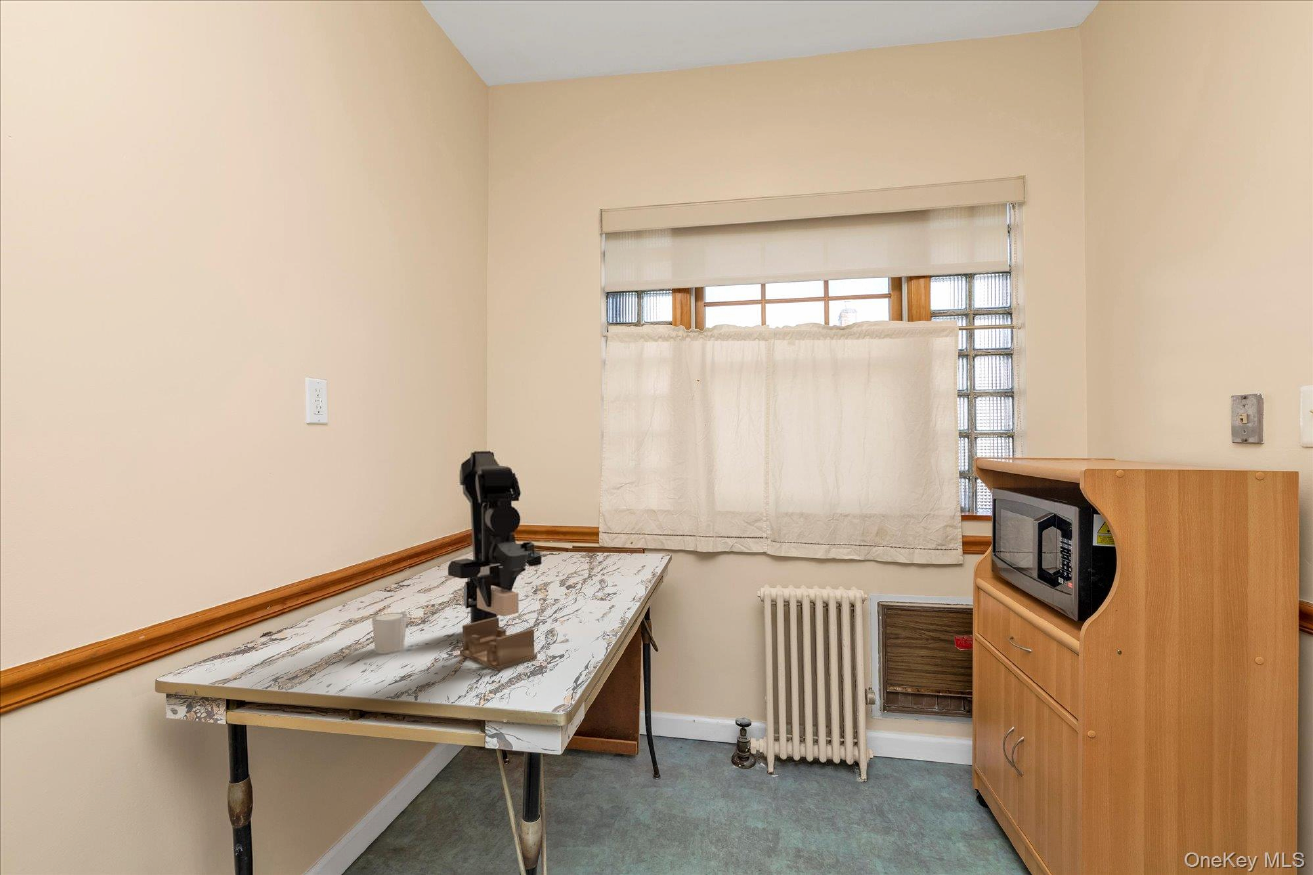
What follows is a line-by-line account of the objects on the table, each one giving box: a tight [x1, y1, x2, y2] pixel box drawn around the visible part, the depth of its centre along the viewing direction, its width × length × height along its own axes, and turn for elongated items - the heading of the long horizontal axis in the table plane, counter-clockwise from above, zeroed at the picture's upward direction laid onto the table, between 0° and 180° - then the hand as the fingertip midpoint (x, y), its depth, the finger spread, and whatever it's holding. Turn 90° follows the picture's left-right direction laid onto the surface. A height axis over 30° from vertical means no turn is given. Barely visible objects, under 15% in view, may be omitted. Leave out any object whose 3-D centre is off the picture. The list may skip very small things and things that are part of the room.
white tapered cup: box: [371, 612, 408, 655], centre depth 128 cm, size 7×7×7 cm
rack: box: [459, 616, 538, 672], centre depth 123 cm, size 14×9×6 cm, turn 47°
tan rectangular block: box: [477, 586, 520, 618], centre depth 123 cm, size 10×4×4 cm, turn 47°
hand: (497, 604), depth 123 cm, fingers closed on tan rectangular block, 3 cm apart
